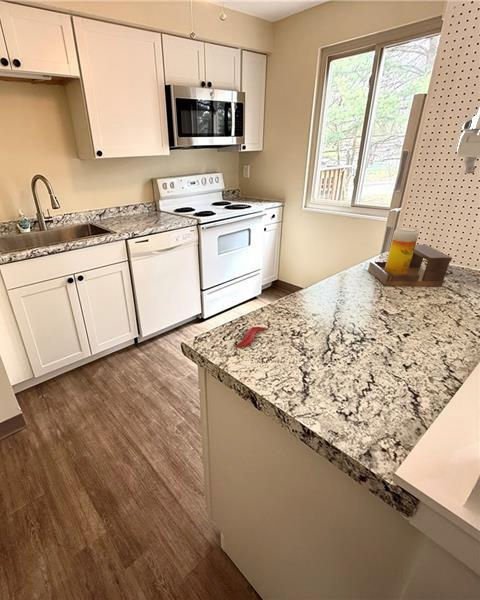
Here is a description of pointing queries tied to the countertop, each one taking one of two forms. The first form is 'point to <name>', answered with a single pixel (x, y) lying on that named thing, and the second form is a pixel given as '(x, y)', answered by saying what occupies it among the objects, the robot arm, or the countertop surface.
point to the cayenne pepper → (249, 336)
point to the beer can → (401, 250)
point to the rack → (416, 269)
